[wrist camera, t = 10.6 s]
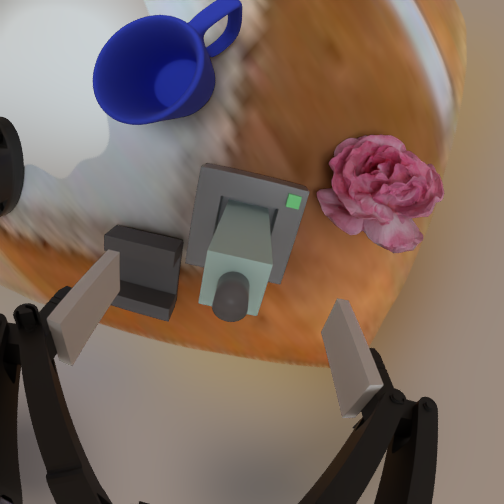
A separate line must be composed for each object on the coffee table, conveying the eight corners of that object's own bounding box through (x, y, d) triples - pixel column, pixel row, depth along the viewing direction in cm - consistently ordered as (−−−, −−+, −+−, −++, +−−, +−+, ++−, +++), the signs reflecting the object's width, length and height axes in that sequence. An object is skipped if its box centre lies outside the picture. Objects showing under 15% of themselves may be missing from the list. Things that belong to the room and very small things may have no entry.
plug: (221, 235, 29) (190, 326, 16) (228, 199, 28) (199, 269, 14) (258, 244, 29) (256, 340, 16) (268, 208, 28) (274, 286, 15)
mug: (272, 61, 22) (278, 27, 13) (179, 140, 26) (138, 149, 17) (217, 11, 19) (196, -36, 10) (129, 89, 23) (73, 79, 14)
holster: (118, 287, 33) (106, 303, 30) (119, 223, 29) (104, 235, 26) (176, 303, 34) (168, 321, 30) (184, 238, 30) (174, 252, 27)
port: (190, 252, 31) (184, 264, 28) (206, 162, 26) (200, 166, 24) (278, 272, 31) (280, 286, 29) (305, 186, 27) (310, 192, 24)
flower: (314, 144, 28) (361, 91, 19) (387, 174, 30) (444, 140, 20) (298, 244, 26) (355, 218, 17) (380, 267, 28) (450, 256, 18)
